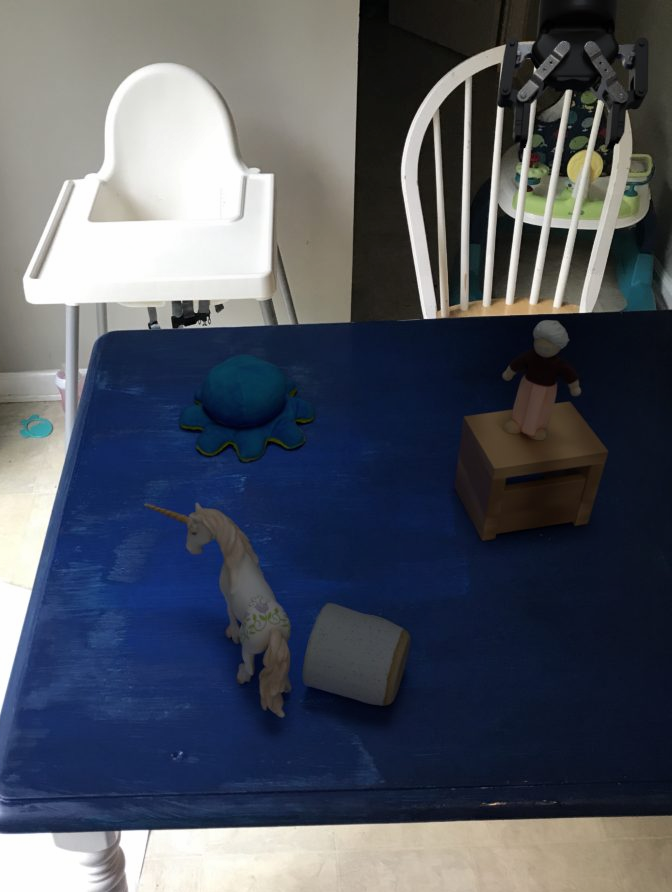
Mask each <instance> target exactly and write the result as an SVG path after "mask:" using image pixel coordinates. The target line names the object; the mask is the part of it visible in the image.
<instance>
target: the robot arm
mask: <svg viewBox="0 0 672 892" xmlns="http://www.w3.org/2000/svg"><path fill="white" fill-rule="evenodd" d="M538 5H539V6H538V17H537V28H536V29H537V30H536V39H535V41H534V42H533V43H519V40H518V38H516V37H509V38H508V39H507V40H506V42H505V47H504V52H503V58H502V64H501V70H500V71H501V72H500V78H499V84H498V91H497V98H496V106H498V107H499V108H500V109H501V108H502V109H504V108H509V109H511V111H513V114H514V116H513V126H512V127H513V128H512V140H513V143H518V149H526V148H527V144H528V141H529V133H530V121H531V110H532V109H531V108H532V104H533V103H534V102H535V101H537V100H538V99H539V98H540V97H541V96H542V95H543V94H544V93H545V92H546V90H547V89H548V88H549V89H552V90H553V92H554V93H555V92H557V93H562V92H566V91H573V92H577V93H585V92H586V90H590V91H591V92H592V94H593V95H594V96H595V98H596V99H597V101H601V102H602V103H603V105H604V106H605V107H606V109H607V111H608V114H607V117H606V129H605V130H606V131H605V142H604V150H605V151H613V150H614V148H615V146H616V145H619V143H620V142H621V140H622V138H623V136H624V134H625V130H626V129H625V128H626V117H627V111H628V110H638V109H639V108H640V107H641V106H642V104H643V102H644V100H645V99H646V96H647V94H648V92H649V40H648V39H647V38H646V37H638V38H637V39H636V41H635V43H625V44H624V43H623V44H619V42H618V41H617V39H616V24H617V10H618V0H539V4H538ZM526 60H530V63H531V64H532V65H533V67H534V68H535V69H536V70H535V71H534V72H533V73H532V74H531V76H530V77H529V80H528V81H526V83H525V84H524V85H523V86H522V87H521V89H520V90H518V89H516V88H513V83H514V76H515V70H518V69H520V68H522V66H523V65H524V62H525V61H526ZM616 60H620V61H621V63H622V67H623V68H624V70H625V71H628V90H626V89H625V88H624V87H623V85H622V84H621V82H620V81H619V79H618V74H617V72H616V71H615V69H614V68H613V67H612V65H613V64H614V63H615V61H616Z"/></svg>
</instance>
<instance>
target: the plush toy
mask: <svg viewBox="0 0 672 892" xmlns="http://www.w3.org/2000/svg"><path fill="white" fill-rule="evenodd" d="M297 391H298V386H297V384H296V383H295V382H294V381H293V380H291V379H289V378H287V377H286V376H285V373H284V372H283V371H282V370H281V369H280V368H279V366H277V365H276V364H274V363H271V362H269V361H266V360H263V359H261V358H259V357H256V356H255V355H250V354H244V353H241V354H238V355H233V356H231V357H229V358H227V359H225V360H224V361H222V362H221V363H219V364H217V365H215V366H213V367H212V368H211V369H209V370H208V372H207V373H206V375H205V377H204V379H203V381H202V383H201V385H200V387H199V388H197V390H195V391H194V394H193V399H194V400H193V402H194V403H196V404H191V405H187V406H186V407H184V408H183V409H181V411H180V412H179V418H178V422H179V426H180V427H181V428H183V429H186V430H188V429H189V430H200V431H201V432H200V434H199V435H198V437H197V438H196V439H195V447H196V449H197V450H198V451H199V452H200V453H201V454H202V455H204V456H207V457H211V456H215V455H217V454H218V453H220V452H221V451H223V449H224V448H226V447H227V446H228V445H229V444H230V445H233V448H234V449H235V451H236V454H237V457H238V458H239V460H241V461H242V462H245V463H249V462H250V461H256V460H258V459H260V458H261V457H263V455H264V453H265V451H266V447H267V444H268V442H274V443H276V444H277V445H281V446H282V447H284V448H285V449H287V450H290V449H295V448H297V447H300V446H302V445H303V444H304V442H306V435H305V434H304V431H303V430H302V428H300V426H299V425H298V424H297V422H298V423H299V422H300V423H302V424H305V423H310V422H312V421H314V418H315V414H316V411H315V407H314V406H313V404H311V403H310V402H308V401H306V400H304V399H302V398H299V397H294V396H295V394H296V392H297Z"/></svg>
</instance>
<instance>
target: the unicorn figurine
mask: <svg viewBox="0 0 672 892" xmlns="http://www.w3.org/2000/svg"><path fill="white" fill-rule="evenodd" d="M143 505H144V507H147V508H148V509H150V510H152V511H155V512H157V513H159V514H162V516H163V515H164V516H166V517H168V518H170V519H171V518H172V519H173V520H175V521H178V522H180V523H182V524H185V525H187V536H186V544H185V548H186V549H187V551H188V552H189V553H190V554H191V555H193V556H194V555H199V554H203V552H204V548H203V547H204V546H205V545H207V544H209V543H211V542H212V541H213V540H216V542H217V543H218V546H219V548H220V551H221V553H222V556H223V564H222V565H221V568H220V574H219V579H218V583H219V590H220V592H221V593H222V595H223V597H224V600H225V602H226V604H227V606H226V607H227V608H226V610H227V615H228V618H229V625H228V626H227V628H225V631H224V633H225V637H227V639H232V641H233V642H234V644H236V645H239V644H241V658H242V660H243V662H241V663H240V664H238V665H239V666H238V672H237V675H236V678H237V683H238V684H240V685H241V684H245V683H246V682H248V683H250V682H251V678H252V676H254V674H255V669H256V664H255V657H256V655H259V654H262V653H264V652H265V653H264V654H263V659H262V664H263V666H264V667H263V668H262V670H261V671H260V672H259V675H258V680H259V694H260V705H261V708H262V710H264V711H267V709H269V710H270V711H271V712H272V713H273V714H275V715H276V716H278V717H279V718H284V717H285V716H286V714H285V713H286V712H284V710H283V706H284V698H283V695H282V693H286V694H287V693H290V692H291V691H292V688H293V687H292V684H291V680H290V677H289V671H290V667H291V652H290V651H291V650H290V649H289V645H288V643H289V640H290V637H291V631H292V626H291V622H290V618H289V616H288V615H287V613H286V612H287V611H285V609H284V607H282V606H281V604H280V603H278V602H277V598H276V596H275V594H274V591H273V590H272V587H270V585H269V583H268V582H267V580H266V579H265V576H264V573H263V571H262V569H261V566H260V565H259V564H260V558H259V557H258V555H257V553H255V551H254V548H253V546H252V544H251V540H250V539H249V537H248V536H247V535H246V534H245V532H243V530H241V528H240V527H239V526H238V525H237V524H236V523H235V522H234V520H233V519H232V518H231V517H229V516H227V515H225V514H224V513H223V512H222V511H221V510H218V509H216V508H207V507H202V505H200V503H199V502H195V503H194V506H195V507H194V508H195V512H190V514H188V516H187V515H186V514H183V513H182V514H181V513H179V512H177V511H176V512H175V511H173V510H169V509H167V508H162V507H160V506H157V505H153V504H151V503H143ZM238 621H239V622H240V623H241V625H239V624H238Z"/></svg>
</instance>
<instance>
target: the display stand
mask: <svg viewBox="0 0 672 892" xmlns="http://www.w3.org/2000/svg"><path fill="white" fill-rule="evenodd" d="M512 411H513V409H505V410H500V411H493V412H485V413H480V414H472V415H464V416H463V418H462V419H463V420H462V425H461V426H462V427H461V435H460V442H459V448H458V455H457V456H458V457H457V466H456V472H455V479H454V489H455V491H456V494H457V496H458V497H459V499H460V501H461V503H462V505H463V508H464V509H465V511H466V512H467V513H466V514H467V515H468V517H469V518H470V520H471V522H472V524H473V527H474V528H475V530H476V532H477V535H478V536H479V538H480V540H481V541H482V542H485V541H489V540H490V541H491V540H496V537H497V535H498V534H499V535H500V534H504V533H505V534H506V533H510V532H511V533H512V532H516V531H518V532H519V531H523V530H524V531H525V530H529V529H537V528H544V527H548V526H554V525H561V524H568V523H572V524H573V525H574V526H575V527H578V526H583V525H588V524H589V521H590V517H591V514H592V510H593V507H594V503H595V501H596V496H597V493H598V490H599V485H600V483H601V480H602V476H603V472H604V469H605V464H606V462H607V459H608V455H609V450H608V449H607V448H606V447H605V445H604V444H603V442H602V441H601V440H600V438H599V437H598V436H597V434H596V433H595V432H594V430H592V428H591V427H590V425H589V424H588V423H587V422H586V420H585V419H584V418H583V416H582V415H581V414H580V412H578V410H577V408H576V407H575V406H574V405H573V404H572V402H571V401H565V402H564V401H563V402H555V404H554V409H553V412H552V415H551V418H550V422H549V425H548V427H547V437H546V439H544V440H534V439H531V438H529V437H528V435H527V434H525V433H523V432H520V433H518V434H511V433H508V432H506V431H505V430H504V429H503V426H504V424H505V423H506V422H507V421H509V420H511V419H512V418H511V416H512ZM534 474H535V475H536V474H541V476H542V477H543V478H542V479H535V480H530V481H522V482H516V483H510V484H506V482H507V478H513V477H521V476H527V475H534Z"/></svg>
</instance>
